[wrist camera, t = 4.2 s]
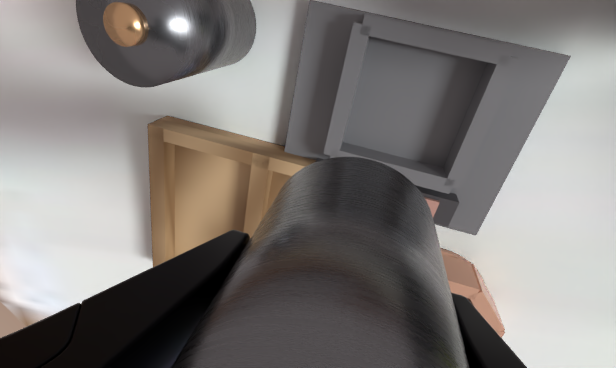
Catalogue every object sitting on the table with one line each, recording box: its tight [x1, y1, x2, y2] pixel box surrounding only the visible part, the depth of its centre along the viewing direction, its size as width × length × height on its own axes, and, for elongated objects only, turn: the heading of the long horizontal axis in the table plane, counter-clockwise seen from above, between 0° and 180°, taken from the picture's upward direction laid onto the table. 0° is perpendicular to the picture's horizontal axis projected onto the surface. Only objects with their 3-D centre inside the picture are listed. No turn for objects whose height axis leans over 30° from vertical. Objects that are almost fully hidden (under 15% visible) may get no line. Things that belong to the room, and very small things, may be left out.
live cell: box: [171, 157, 469, 368], centre depth 6 cm, size 4×4×8 cm
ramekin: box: [440, 248, 505, 337], centre depth 22 cm, size 8×8×3 cm
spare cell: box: [76, 0, 256, 87], centre depth 15 cm, size 4×4×8 cm
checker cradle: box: [284, 0, 571, 235], centre depth 18 cm, size 12×10×2 cm
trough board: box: [148, 116, 316, 267], centre depth 23 cm, size 14×12×2 cm
